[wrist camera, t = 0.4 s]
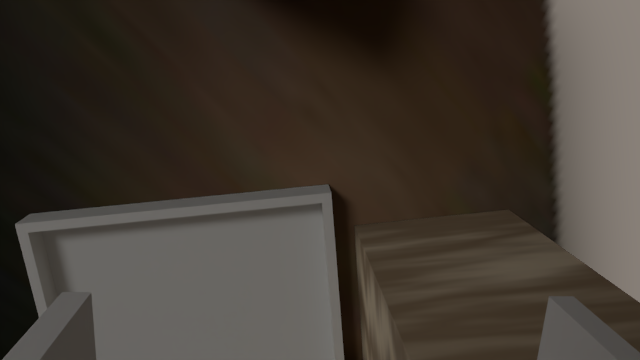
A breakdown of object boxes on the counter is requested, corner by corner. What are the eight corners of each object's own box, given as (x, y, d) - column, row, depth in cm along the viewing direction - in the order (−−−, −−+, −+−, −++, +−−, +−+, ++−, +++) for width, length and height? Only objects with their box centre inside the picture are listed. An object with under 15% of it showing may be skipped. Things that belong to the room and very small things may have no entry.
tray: (30, 213, 41) (14, 224, 39) (328, 184, 42) (331, 192, 40) (84, 431, 47) (74, 452, 45) (345, 399, 48) (348, 418, 46)
